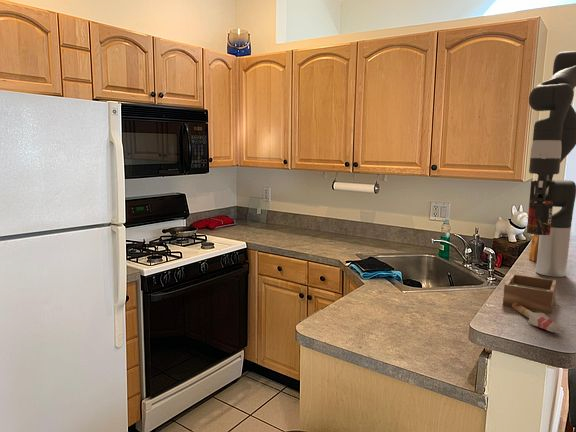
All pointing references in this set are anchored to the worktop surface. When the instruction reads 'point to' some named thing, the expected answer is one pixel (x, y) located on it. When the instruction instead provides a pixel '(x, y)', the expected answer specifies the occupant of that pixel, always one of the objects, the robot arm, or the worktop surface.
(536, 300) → the walled box
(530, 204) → the deodorant
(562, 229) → the robot arm
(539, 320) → the paintbrush
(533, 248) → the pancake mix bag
